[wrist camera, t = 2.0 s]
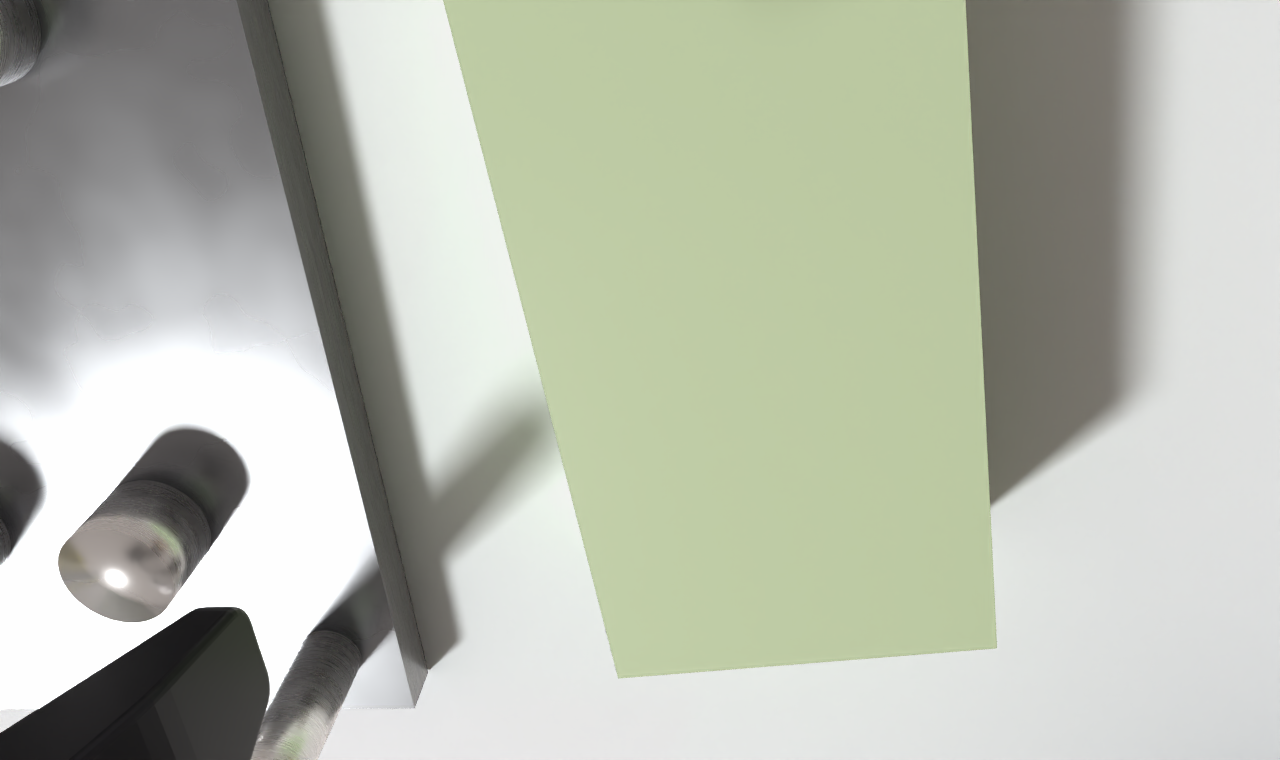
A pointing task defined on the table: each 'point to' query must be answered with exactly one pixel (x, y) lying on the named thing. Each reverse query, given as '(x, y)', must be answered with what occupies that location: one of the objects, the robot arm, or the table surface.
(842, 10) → the board
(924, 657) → the table surface
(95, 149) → the chassis
